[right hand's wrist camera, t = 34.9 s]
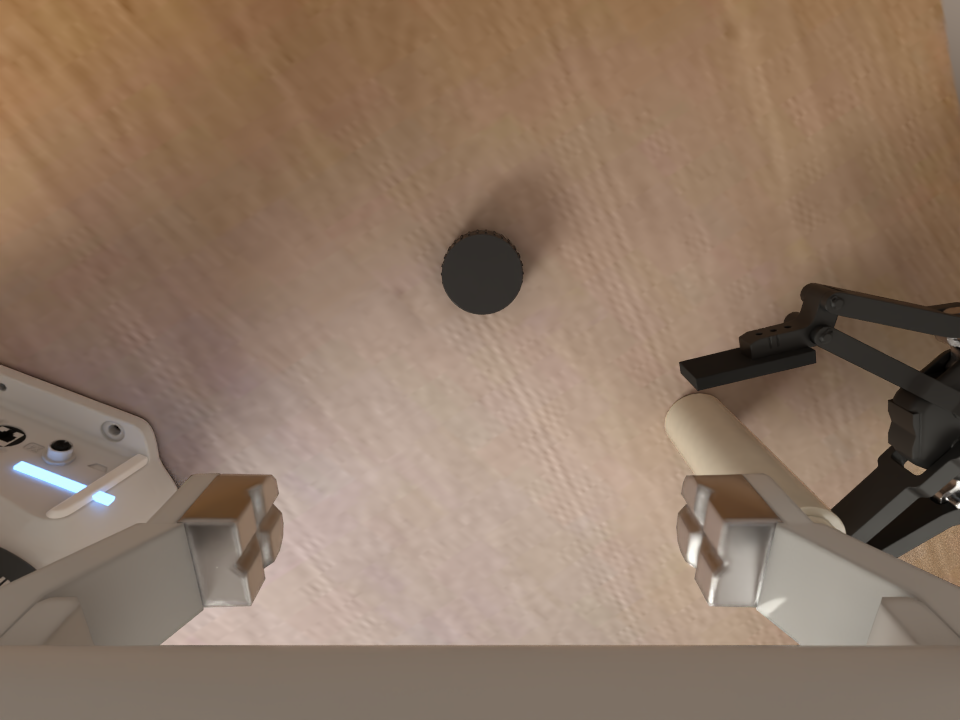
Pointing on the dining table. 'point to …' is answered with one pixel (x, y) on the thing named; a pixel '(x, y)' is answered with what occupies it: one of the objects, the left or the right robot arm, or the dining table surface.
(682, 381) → the dining table surface
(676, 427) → the jar
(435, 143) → the dining table surface
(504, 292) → the lid
